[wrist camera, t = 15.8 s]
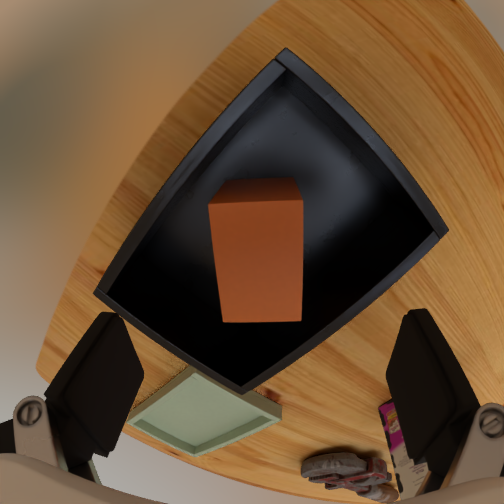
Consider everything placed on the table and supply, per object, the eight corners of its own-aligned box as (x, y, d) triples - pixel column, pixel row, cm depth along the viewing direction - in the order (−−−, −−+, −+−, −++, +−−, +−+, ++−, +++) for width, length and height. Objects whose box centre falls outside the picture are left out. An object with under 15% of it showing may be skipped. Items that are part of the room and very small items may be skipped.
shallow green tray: (199, 357, 28) (194, 372, 26) (282, 405, 30) (282, 420, 28) (130, 411, 34) (125, 422, 32) (197, 446, 37) (195, 457, 35)
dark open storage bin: (280, 71, 17) (285, 46, 10) (402, 197, 20) (450, 230, 13) (133, 248, 23) (92, 294, 17) (248, 335, 26) (241, 396, 20)
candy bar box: (393, 417, 32) (417, 520, 17) (376, 407, 30) (401, 521, 15) (461, 371, 28) (508, 471, 13) (451, 355, 26) (504, 468, 12)
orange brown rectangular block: (225, 179, 19) (207, 204, 14) (293, 176, 19) (303, 200, 13) (234, 272, 22) (223, 322, 17) (294, 271, 22) (301, 321, 16)
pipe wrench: (284, 461, 37) (284, 487, 33) (352, 435, 33) (357, 464, 29) (382, 493, 48) (384, 508, 44) (426, 473, 44) (430, 489, 40)
